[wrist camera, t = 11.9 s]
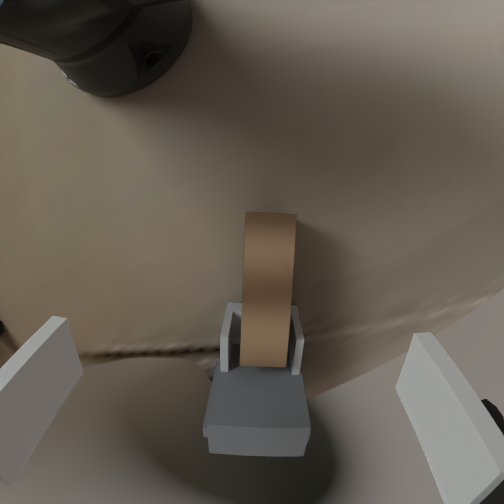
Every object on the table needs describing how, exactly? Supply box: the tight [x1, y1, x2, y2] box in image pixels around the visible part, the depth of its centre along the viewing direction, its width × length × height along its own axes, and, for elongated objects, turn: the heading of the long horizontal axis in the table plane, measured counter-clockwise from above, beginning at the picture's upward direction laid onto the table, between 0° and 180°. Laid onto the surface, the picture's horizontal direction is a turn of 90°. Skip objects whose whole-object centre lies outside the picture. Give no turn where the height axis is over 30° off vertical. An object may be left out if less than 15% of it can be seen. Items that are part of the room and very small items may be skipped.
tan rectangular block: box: [240, 212, 296, 367], centre depth 28 cm, size 13×4×6 cm, turn 178°
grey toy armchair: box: [203, 302, 311, 456], centre depth 28 cm, size 10×10×14 cm
